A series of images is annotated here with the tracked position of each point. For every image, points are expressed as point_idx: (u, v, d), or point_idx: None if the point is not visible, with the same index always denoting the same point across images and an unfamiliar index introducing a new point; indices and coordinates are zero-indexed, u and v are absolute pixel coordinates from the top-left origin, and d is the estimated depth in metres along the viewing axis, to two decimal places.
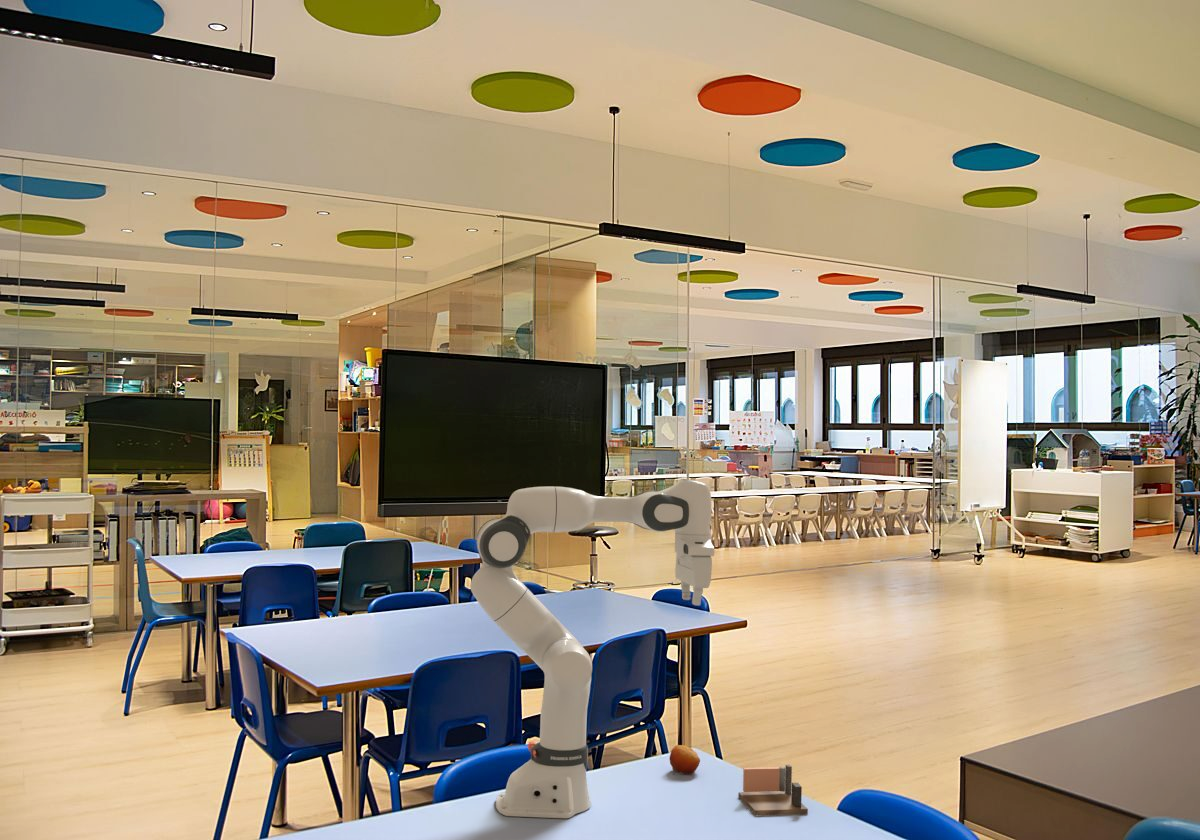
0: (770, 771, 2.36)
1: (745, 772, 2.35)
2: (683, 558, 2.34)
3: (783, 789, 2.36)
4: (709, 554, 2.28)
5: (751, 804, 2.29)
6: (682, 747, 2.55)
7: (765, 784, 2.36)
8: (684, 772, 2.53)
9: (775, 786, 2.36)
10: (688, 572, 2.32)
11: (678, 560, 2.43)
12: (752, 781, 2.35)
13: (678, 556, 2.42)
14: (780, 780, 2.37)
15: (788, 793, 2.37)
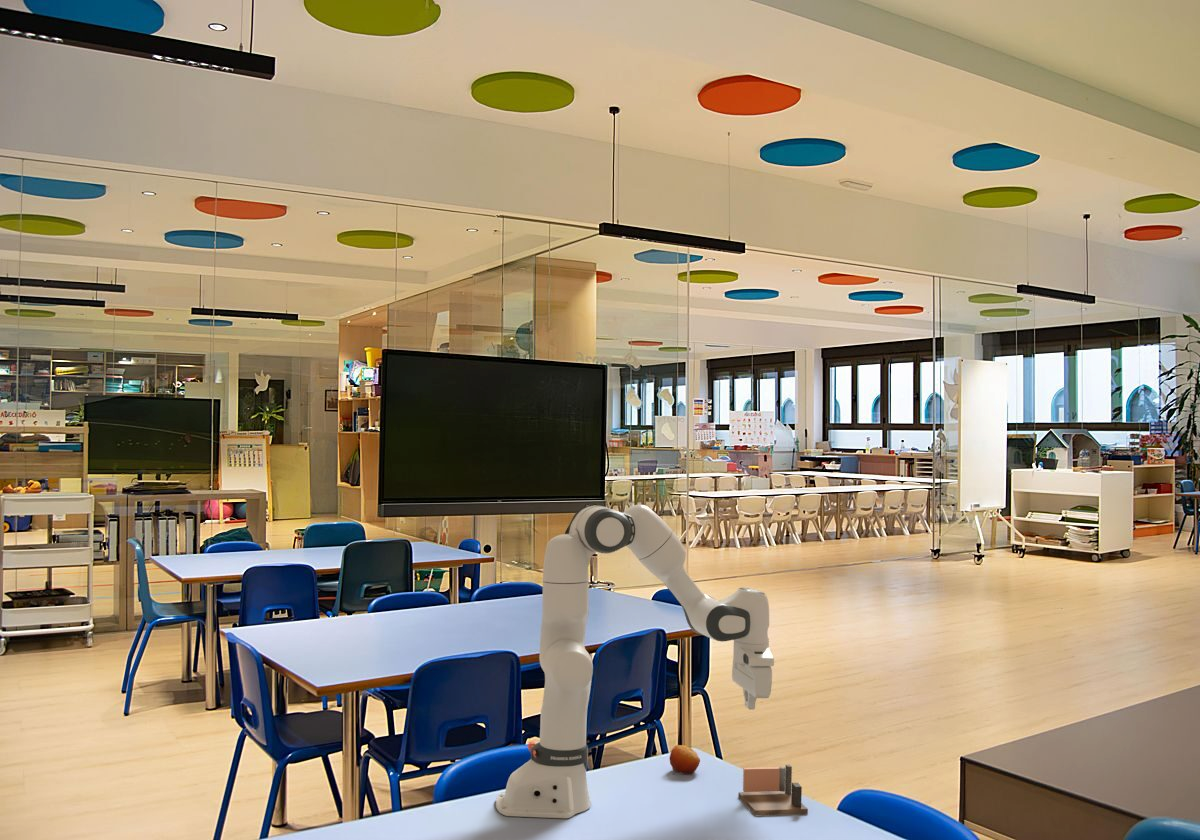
0: (770, 771, 2.36)
1: (745, 772, 2.35)
2: (742, 666, 2.40)
3: (783, 789, 2.36)
4: (769, 665, 2.34)
5: (751, 804, 2.29)
6: (682, 747, 2.55)
7: (765, 784, 2.36)
8: (684, 772, 2.53)
9: (775, 786, 2.36)
10: (748, 680, 2.38)
11: (735, 664, 2.49)
12: (752, 781, 2.35)
13: (735, 660, 2.49)
14: (780, 780, 2.37)
15: (788, 793, 2.37)
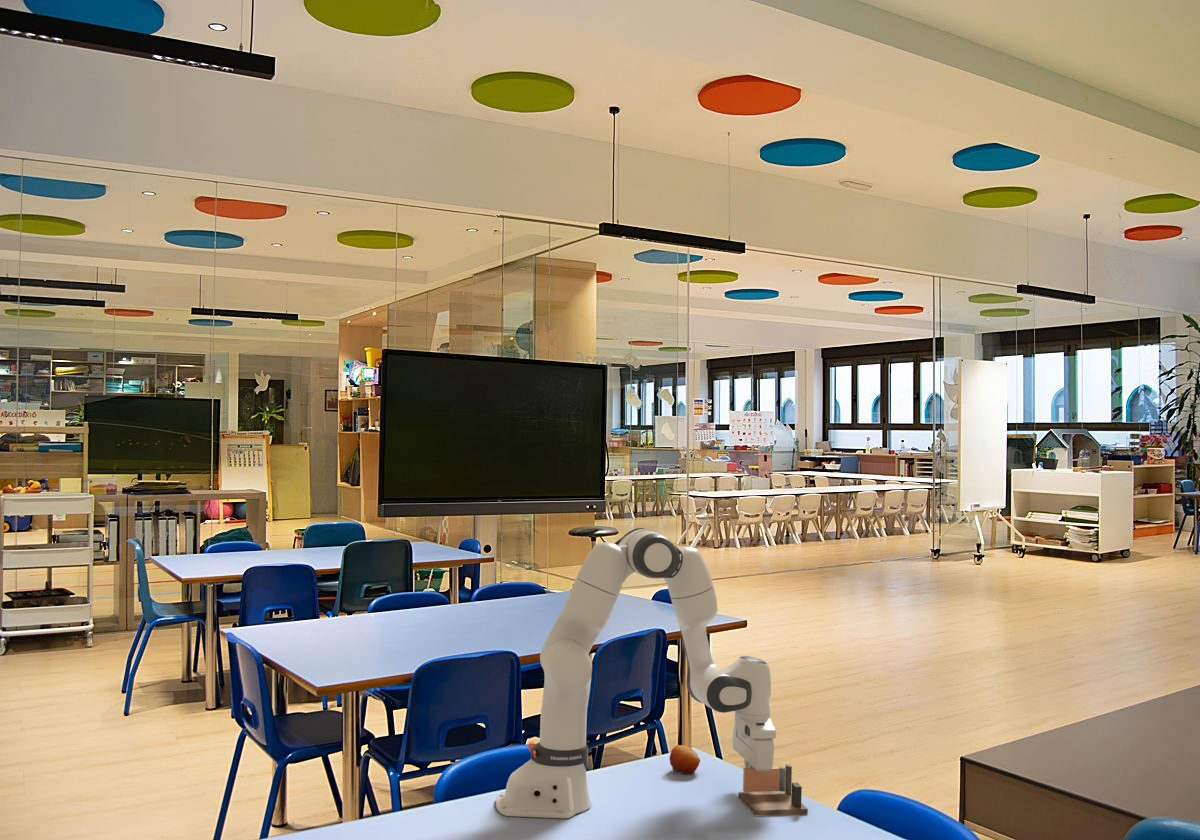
0: (770, 771, 2.36)
1: (745, 772, 2.35)
2: (743, 736, 2.37)
3: (783, 789, 2.36)
4: (771, 737, 2.31)
5: (751, 804, 2.29)
6: (682, 747, 2.55)
7: (765, 784, 2.36)
8: (684, 772, 2.53)
9: (775, 786, 2.36)
10: (749, 751, 2.35)
11: (736, 732, 2.46)
12: (752, 781, 2.35)
13: None
14: (780, 780, 2.37)
15: (788, 793, 2.37)
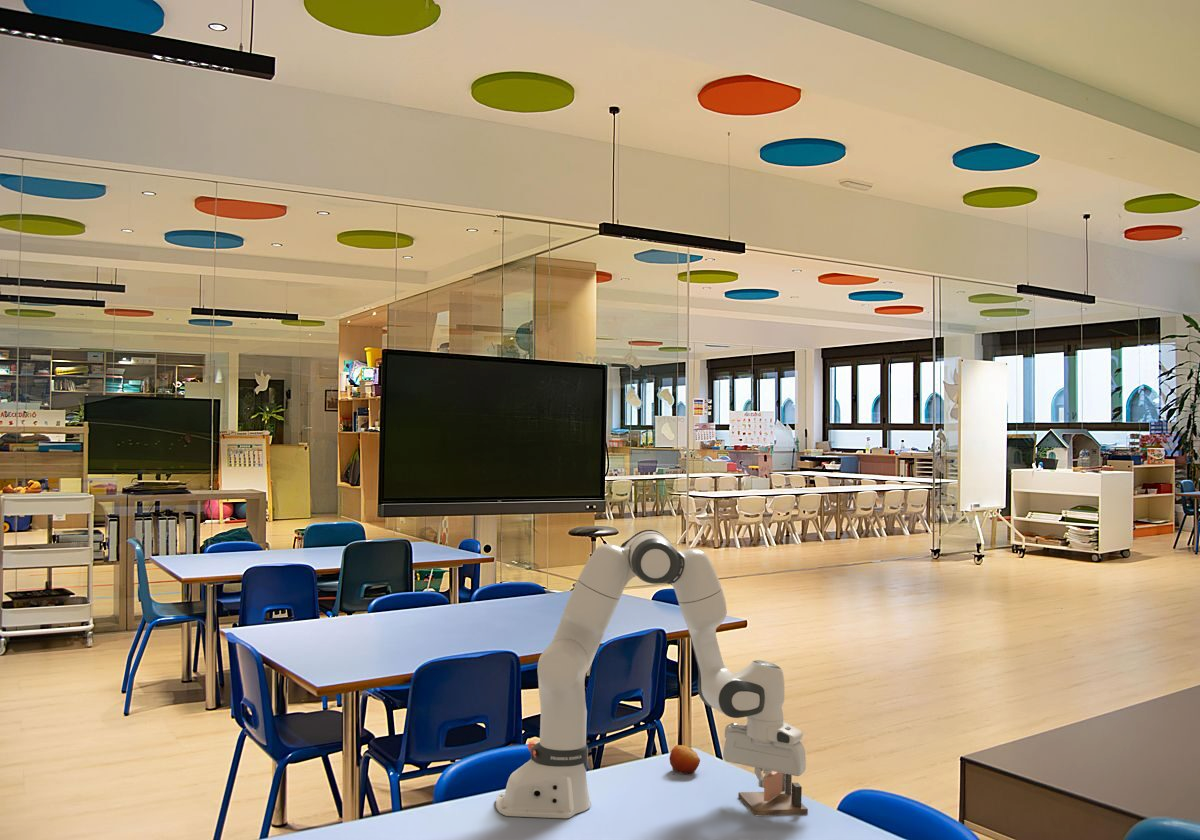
0: (779, 774, 2.34)
1: (768, 781, 2.29)
2: (766, 745, 2.30)
3: (784, 788, 2.37)
4: None
5: (751, 804, 2.29)
6: (682, 747, 2.55)
7: (776, 788, 2.33)
8: (684, 772, 2.53)
9: (780, 787, 2.35)
10: (775, 759, 2.30)
11: (734, 743, 2.35)
12: (771, 788, 2.31)
13: (735, 739, 2.35)
14: (783, 780, 2.36)
15: (788, 793, 2.37)
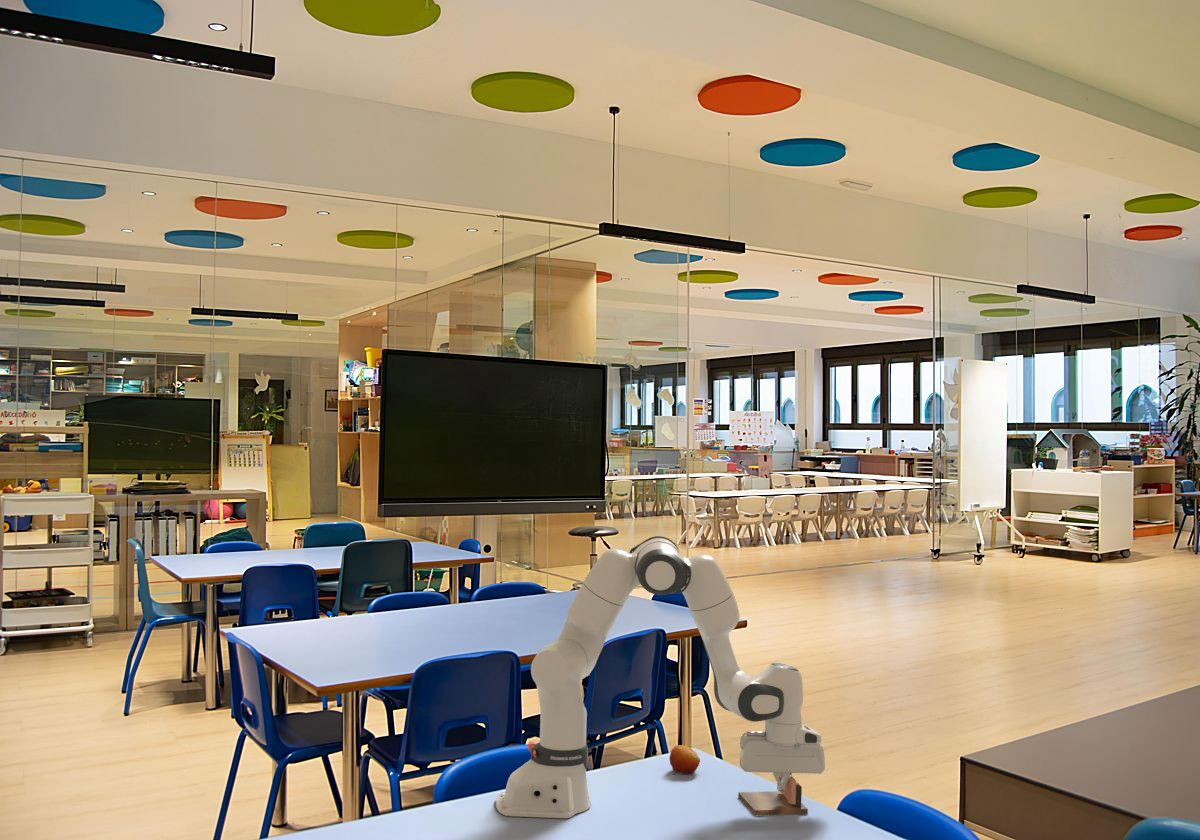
0: None
1: None
2: (792, 748, 2.28)
3: None
4: None
5: (751, 804, 2.29)
6: (682, 747, 2.55)
7: None
8: (684, 772, 2.53)
9: None
10: (798, 760, 2.29)
11: (754, 751, 2.29)
12: None
13: (756, 747, 2.29)
14: None
15: None
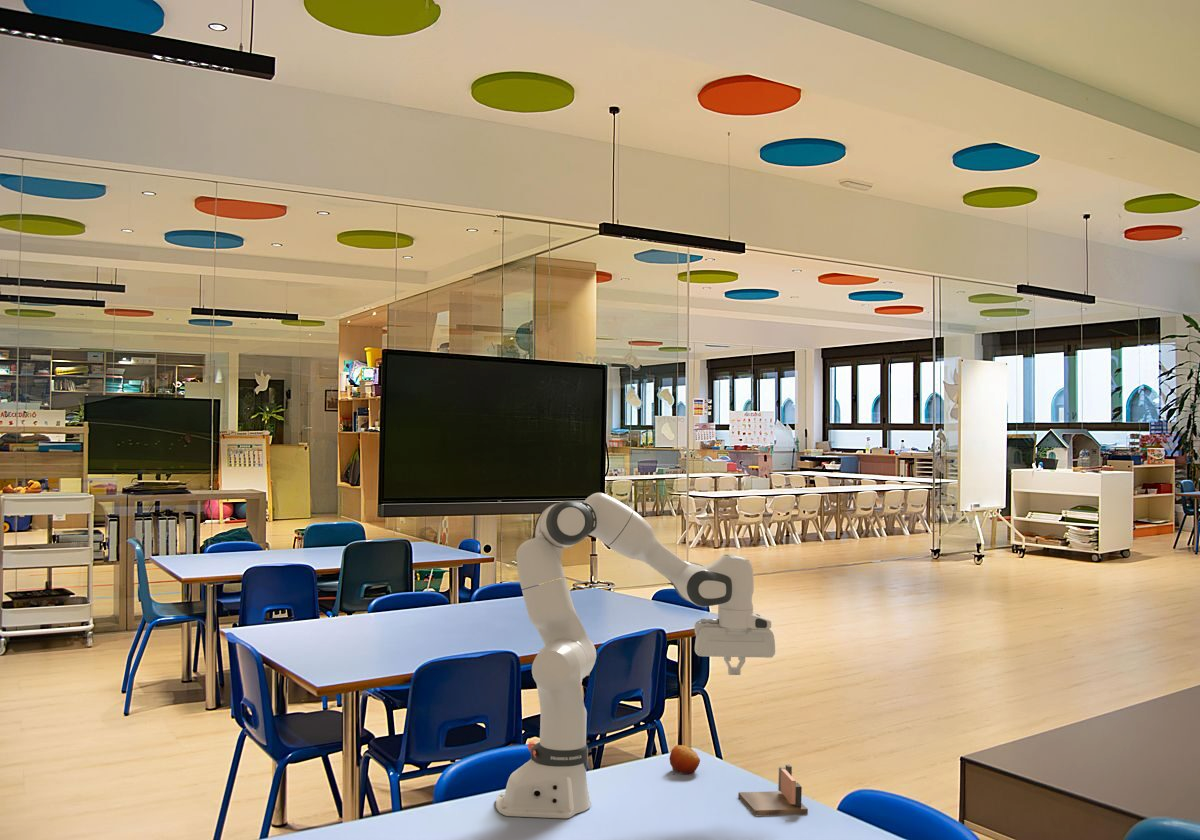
0: None
1: None
2: (743, 633, 2.41)
3: None
4: None
5: (751, 804, 2.29)
6: (682, 747, 2.55)
7: None
8: (684, 772, 2.53)
9: None
10: (750, 645, 2.41)
11: (708, 637, 2.41)
12: None
13: (709, 633, 2.41)
14: None
15: None
